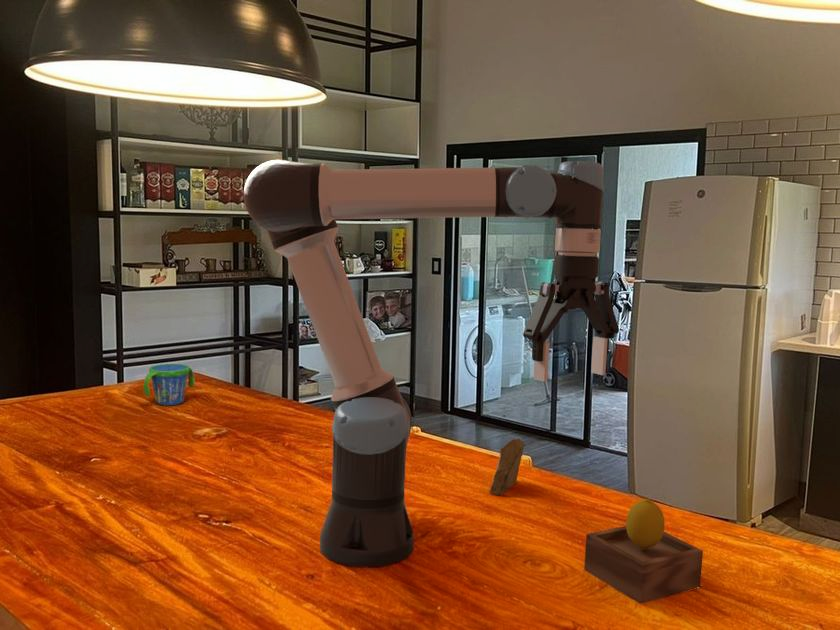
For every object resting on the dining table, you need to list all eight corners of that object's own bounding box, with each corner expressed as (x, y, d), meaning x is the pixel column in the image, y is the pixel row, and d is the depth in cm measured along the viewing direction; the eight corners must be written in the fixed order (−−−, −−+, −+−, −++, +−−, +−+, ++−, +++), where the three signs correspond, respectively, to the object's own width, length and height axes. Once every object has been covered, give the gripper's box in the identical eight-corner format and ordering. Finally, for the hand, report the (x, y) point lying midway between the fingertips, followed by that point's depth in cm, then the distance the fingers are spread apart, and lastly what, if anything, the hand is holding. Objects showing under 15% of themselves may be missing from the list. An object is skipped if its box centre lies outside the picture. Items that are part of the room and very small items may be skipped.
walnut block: (639, 607, 112) (642, 565, 111) (583, 572, 122) (586, 534, 121) (699, 590, 118) (703, 550, 117) (641, 558, 128) (644, 522, 127)
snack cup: (154, 411, 210) (153, 373, 209) (133, 404, 217) (133, 367, 216) (204, 402, 222) (204, 366, 221) (184, 395, 229) (184, 361, 227)
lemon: (633, 539, 123) (637, 489, 122) (667, 549, 120) (672, 499, 119) (618, 549, 119) (622, 498, 118) (653, 561, 115) (657, 508, 114)
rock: (506, 490, 150) (542, 474, 156) (485, 450, 153) (521, 435, 159) (477, 508, 158) (512, 492, 164) (457, 469, 161) (492, 455, 167)
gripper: (536, 255, 124) (529, 387, 127) (644, 255, 138) (636, 375, 140) (505, 252, 131) (500, 378, 133) (612, 253, 144) (605, 367, 147)
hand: (570, 377), depth 137 cm, fingers open, 13 cm apart
